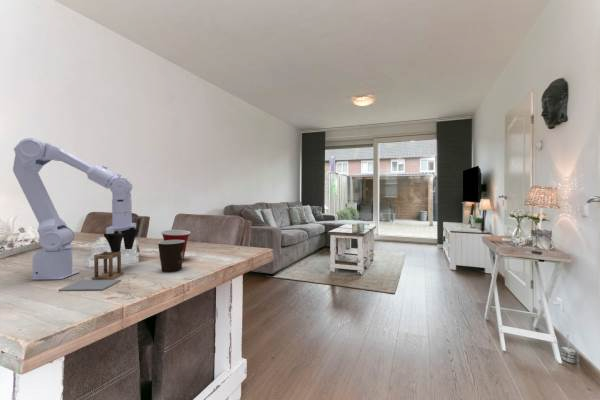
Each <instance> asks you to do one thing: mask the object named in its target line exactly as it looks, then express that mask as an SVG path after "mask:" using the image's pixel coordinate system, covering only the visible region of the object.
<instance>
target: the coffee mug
mask: <svg viewBox="0 0 600 400" xmlns="http://www.w3.org/2000/svg"><path fill="white" fill-rule="evenodd" d="M184 243H185V241H184V240H166V241H164V240H161V241H158V242H157V244H158V245H157V246H158V247H157V248H158V253H159V259H160V267H161V272H163V273H176V272H180V271H181V270H182V269H183V267H182V266H183V261H184V259H183V252H184ZM182 260H183V261H182Z"/></svg>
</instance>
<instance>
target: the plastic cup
mask: <svg viewBox="0 0 600 400" xmlns="http://www.w3.org/2000/svg"><path fill="white" fill-rule="evenodd" d="M160 234H161V235H162V238H163V241H166V240H184V241H185V243H184V252H183V260H184V259H185V253H186V248H187V244H188V239H189V236H190V234H191V231H189V230H185V229H167V230H162V231H161V233H160Z"/></svg>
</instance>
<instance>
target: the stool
mask: <svg viewBox="0 0 600 400" xmlns="http://www.w3.org/2000/svg"><path fill="white" fill-rule="evenodd" d="M116 257H117V258H116ZM115 258H116V260H117V261H116V263H117V267H116V268H117V271H114V270H113V267H114V266H113V265H114V263H113V262H114V259H115ZM99 260H103V272H102V273H100V274H99ZM93 261H94V269H93V270H94V271H93V272H94V276H93V277H91V280H117V279H118V278H120V277H122V276H123V275H124V271H122V251H121V250H120V251H119V252H112V251H103V252H101V253H98V254H94V255H93Z"/></svg>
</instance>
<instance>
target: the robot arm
mask: <svg viewBox="0 0 600 400" xmlns="http://www.w3.org/2000/svg"><path fill="white" fill-rule="evenodd" d="M13 151H14V153H15V154H14V155H15V156H14V161H13V164H12V166H13V167H12V171H13V174H14V176H15V178H16V180H17V182H18V184H19V186H20V188H21V191H22V192H23V194H24V197H25V198H26V200H27V202H28V204H29V206H30V208H31V210H32V213H33V214H34V216H35V218H36V221H37V222H38V227H37V233H38V235H39V238H38V239H39V240H38V243H39V245H40V246H41V248H42V249H39V250H37V251H36V252H35V253H34V254H33V255H32V277H31V278H30V280H38V281H39V280H63V279H66V278H68V277H71V276H74V275H76V274H79V273H80V270H74V269H73V268H74V267H73V245H72V242H74V240H75V231H73V230H72V229H71V228H70V227H68V225H67V223H66V222H65V220H63V219H62V218H61V217H60V215H59V214H58V212H57V210H56V208H55V205H54V203H53V201H52V199H51V197H50V194H49V193H48V191H47V189H46V186H45V184H44V182H43V180H42V179H41V176H40V174H39V172H40V171H41V170H42V168H43V167H44V166H45V165H46V164H48V163H50V162H51V161H56V162H63V164H64V163H65V164H66V165H69V166H70V167H72V168H74V169H77V170H79V171H81V172H83V173H85V174H86V176H87V179H88V180H90V181H91V182H94V183H96V184H98V185H99V186H101V187H103V188H105V189H107V190H110V191H111V193H112V199H111V202H112V203H111V208H112V209H111V215H112V216H111V217H112V221H111V222H112V223H111V225H110V226H108V227H106V228H105V233H103V238H105V239H106V242H107V243H108V245H109V248H110V250H111V251H110V252H119V251H121V248H122V240H123V244H124V249H125V250H132V249H133V247H134V243H135V239H136V236H137V235H138V233H139V231H140V230H139V228H137V222H132V220H133V218H132V214H133V213H132V210H133V209H132V202H133V201H132V190H133V183H132V182H131V181H130V180H129V179H128V178H126V177H125V178H124V177H122V174H121V173H118V174H117V173H116V172H113V171H111V170H110V169H108V166H106V165H103V164H102V165H100V164H95V165H92V164H90V163H88V162H87V161H85V160H83V159H81V158H79V157H78V156H76V155H74V154H73V153H72V152H69V151H68V150H65V149H64V148H63V149H62V148H61V147H58V146H55V145H53V144H51V143H48V142H43V141H40V140H39V139H37V138H33V137H27V138H26V137H25V138H22V139H21V140H20V141H19V142H18V143H17V144H16V146H14V148H13Z"/></svg>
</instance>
